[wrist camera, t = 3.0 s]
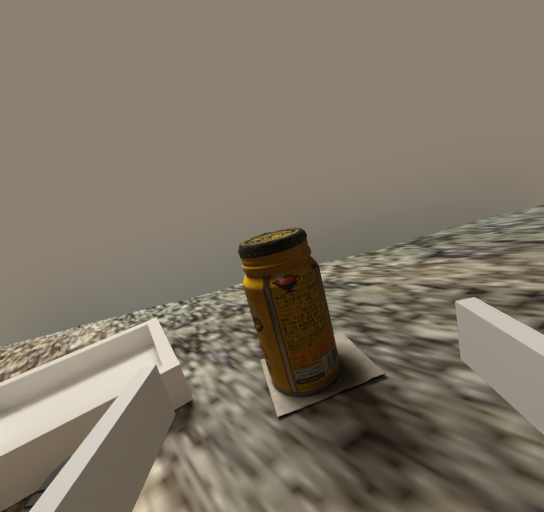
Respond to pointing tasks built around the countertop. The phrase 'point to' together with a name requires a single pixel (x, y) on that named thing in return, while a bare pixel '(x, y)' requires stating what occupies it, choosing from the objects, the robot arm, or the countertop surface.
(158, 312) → the countertop surface
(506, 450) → the countertop surface
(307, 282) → the condiment
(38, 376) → the tray
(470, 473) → the countertop surface
